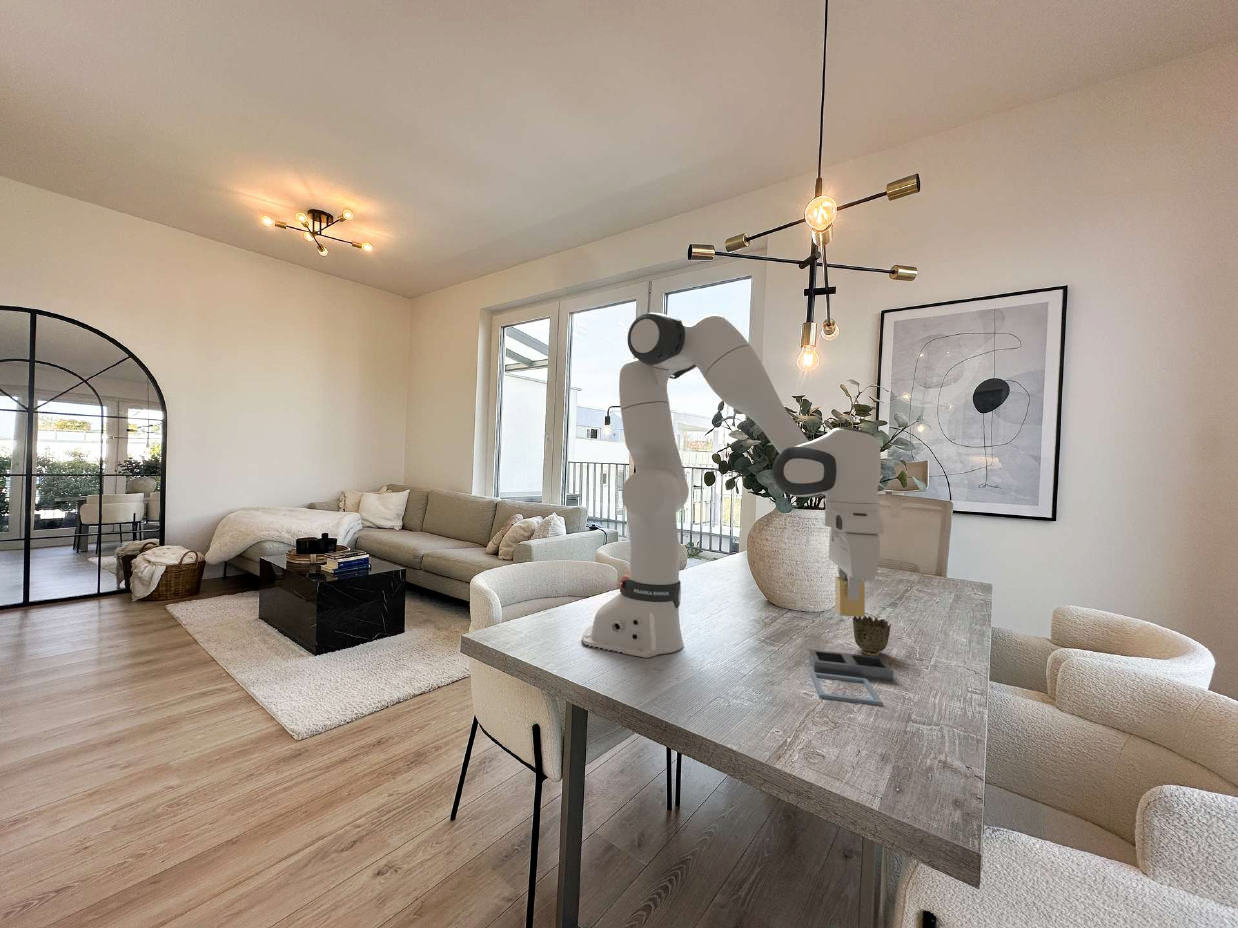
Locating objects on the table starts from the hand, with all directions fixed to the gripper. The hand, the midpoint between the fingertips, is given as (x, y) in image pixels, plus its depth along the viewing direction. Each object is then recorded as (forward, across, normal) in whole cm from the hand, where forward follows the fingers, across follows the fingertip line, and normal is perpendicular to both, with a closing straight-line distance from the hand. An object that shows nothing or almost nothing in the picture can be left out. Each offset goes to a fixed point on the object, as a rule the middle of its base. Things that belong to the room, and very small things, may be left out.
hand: (848, 595), depth 91 cm
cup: (+18, -22, +10) cm, 30 cm away
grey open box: (+18, -10, +3) cm, 21 cm away
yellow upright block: (+3, 0, 0) cm, 3 cm away
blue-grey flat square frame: (+18, 0, 0) cm, 18 cm away
